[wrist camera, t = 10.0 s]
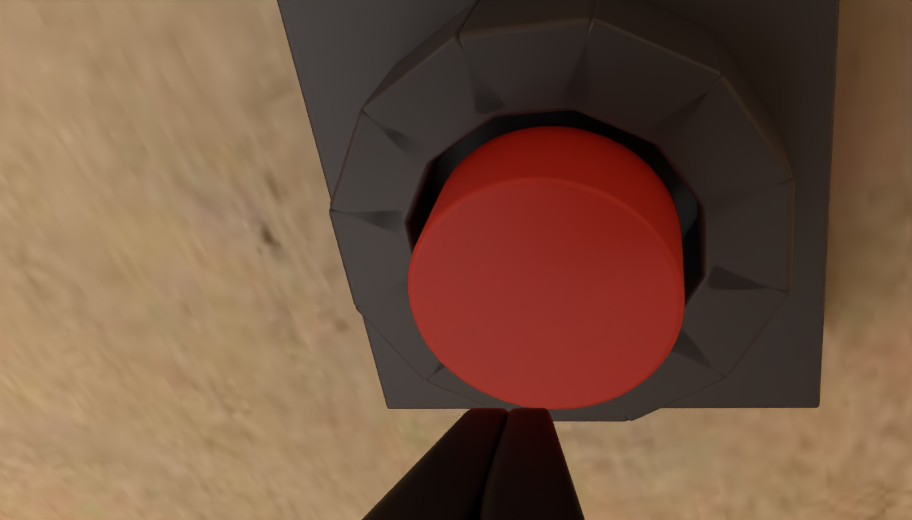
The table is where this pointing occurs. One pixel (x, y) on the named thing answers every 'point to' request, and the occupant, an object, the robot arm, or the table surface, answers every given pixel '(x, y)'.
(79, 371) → the table surface
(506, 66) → the button base
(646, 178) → the power button
